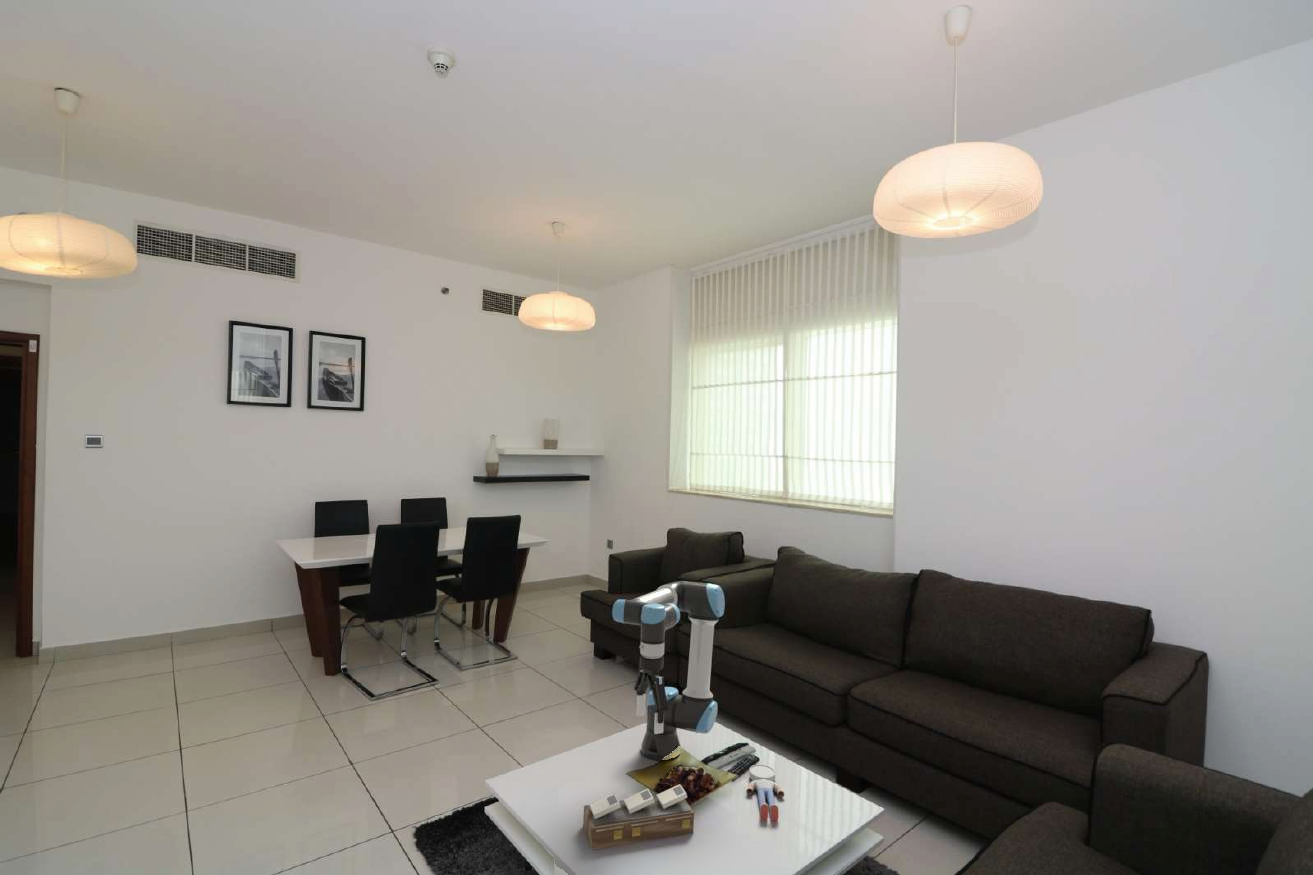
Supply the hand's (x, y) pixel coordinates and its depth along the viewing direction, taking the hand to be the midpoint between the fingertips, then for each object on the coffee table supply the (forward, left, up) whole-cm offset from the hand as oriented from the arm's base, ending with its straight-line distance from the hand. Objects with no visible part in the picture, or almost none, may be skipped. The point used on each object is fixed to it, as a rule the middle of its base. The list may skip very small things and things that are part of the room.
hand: (649, 724), depth 193 cm
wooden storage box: (+5, -4, -29) cm, 29 cm away
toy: (-3, +43, -29) cm, 52 cm away
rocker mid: (+5, -4, -20) cm, 21 cm away
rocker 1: (+5, -15, -20) cm, 26 cm away
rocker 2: (+5, +6, -20) cm, 22 cm away
